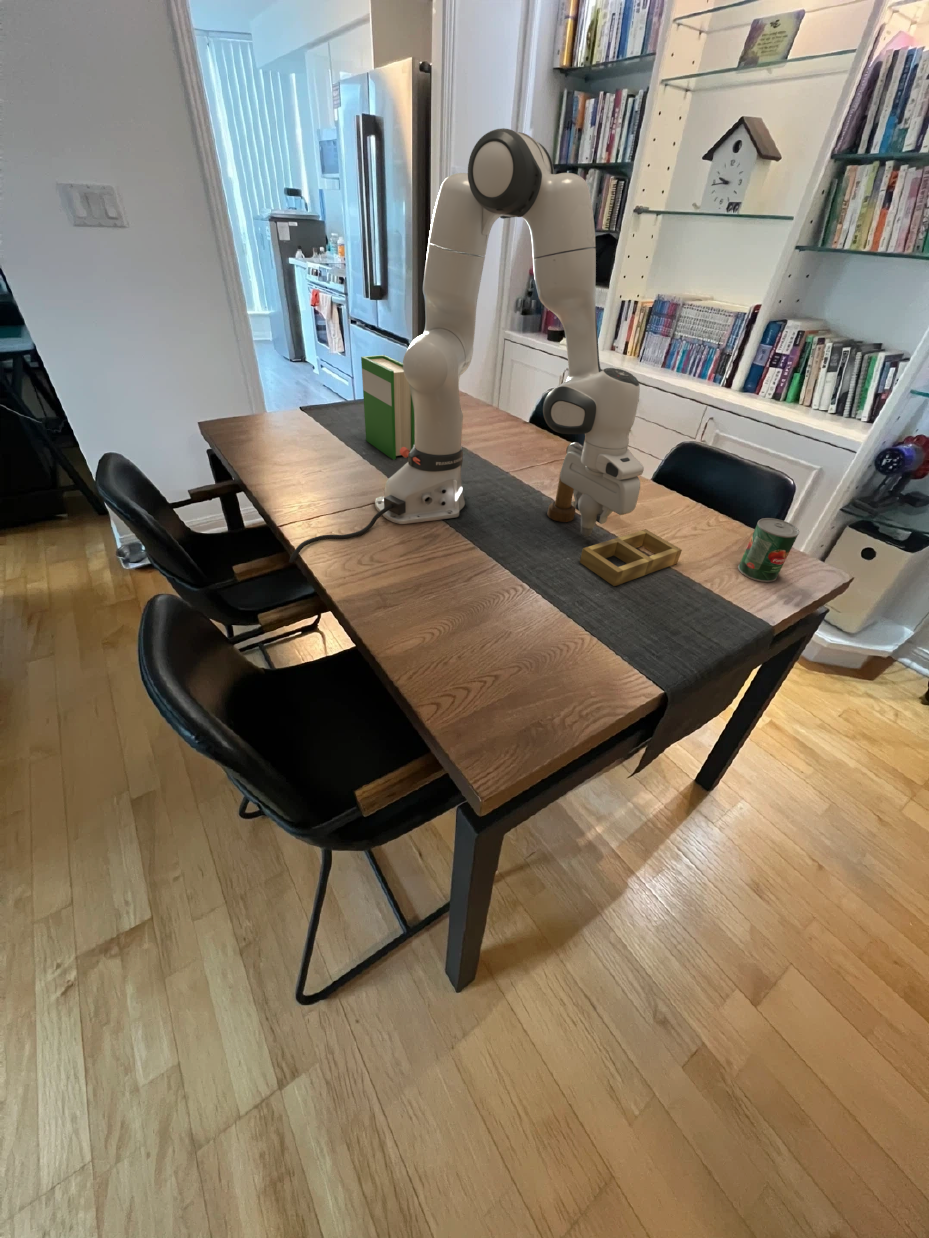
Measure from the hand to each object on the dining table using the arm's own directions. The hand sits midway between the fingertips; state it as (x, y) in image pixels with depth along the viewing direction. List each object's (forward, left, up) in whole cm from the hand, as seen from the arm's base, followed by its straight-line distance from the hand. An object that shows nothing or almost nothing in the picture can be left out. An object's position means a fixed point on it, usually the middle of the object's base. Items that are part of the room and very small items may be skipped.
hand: (589, 515), depth 118 cm
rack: (+2, -12, -6) cm, 14 cm away
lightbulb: (0, 0, -5) cm, 5 cm away
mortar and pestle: (+3, +12, -6) cm, 14 cm away
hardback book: (-15, +71, -6) cm, 73 cm away
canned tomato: (+25, -28, -6) cm, 38 cm away
